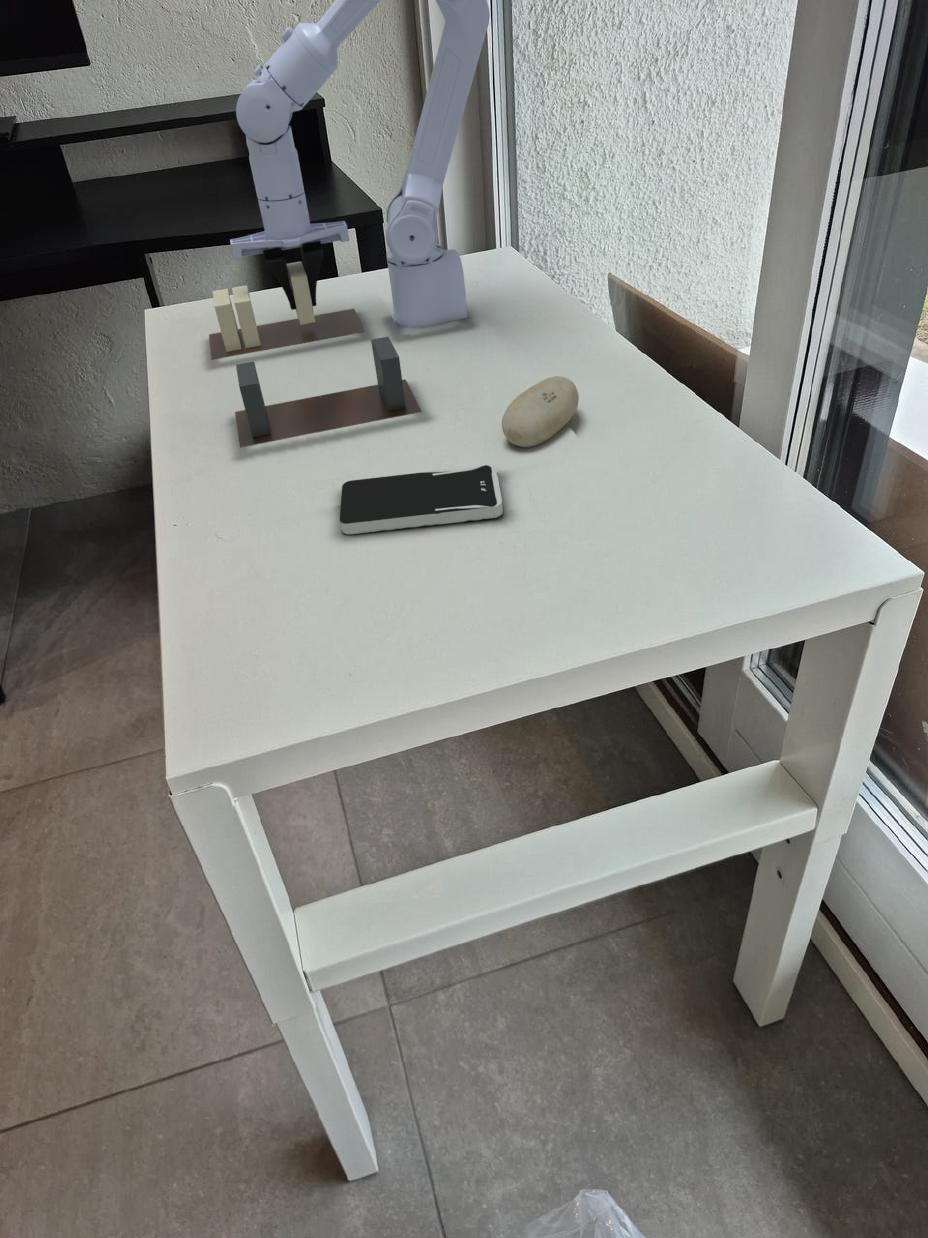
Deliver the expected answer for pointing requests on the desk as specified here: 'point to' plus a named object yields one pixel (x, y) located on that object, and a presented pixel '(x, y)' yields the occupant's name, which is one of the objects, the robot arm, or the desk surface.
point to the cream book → (301, 292)
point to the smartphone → (420, 499)
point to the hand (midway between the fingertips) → (303, 305)
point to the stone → (540, 411)
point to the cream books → (229, 321)
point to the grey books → (385, 372)
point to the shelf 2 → (324, 414)
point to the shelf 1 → (293, 333)
